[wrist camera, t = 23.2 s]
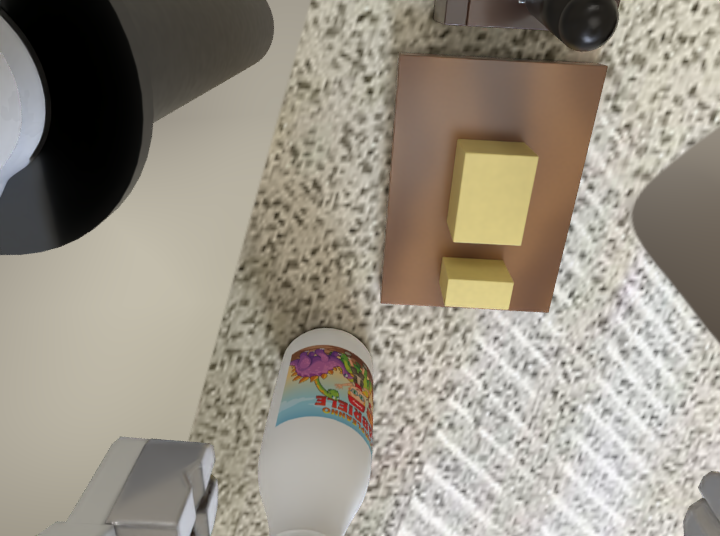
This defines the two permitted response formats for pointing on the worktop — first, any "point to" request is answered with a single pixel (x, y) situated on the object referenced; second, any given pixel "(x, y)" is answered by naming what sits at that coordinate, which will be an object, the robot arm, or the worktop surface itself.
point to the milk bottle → (318, 436)
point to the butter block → (491, 191)
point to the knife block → (487, 14)
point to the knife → (577, 20)
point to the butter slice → (475, 283)
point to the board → (492, 123)
